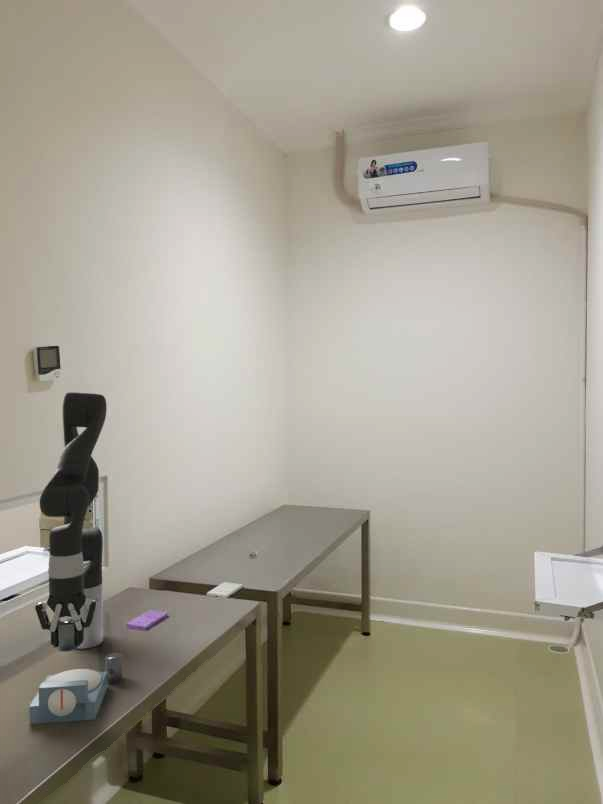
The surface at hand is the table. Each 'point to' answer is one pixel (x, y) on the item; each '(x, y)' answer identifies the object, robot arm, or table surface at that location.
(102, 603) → the robot arm
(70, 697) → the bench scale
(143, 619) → the sponges
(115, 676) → the cylinder
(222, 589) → the external hard drive
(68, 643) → the cylinder
